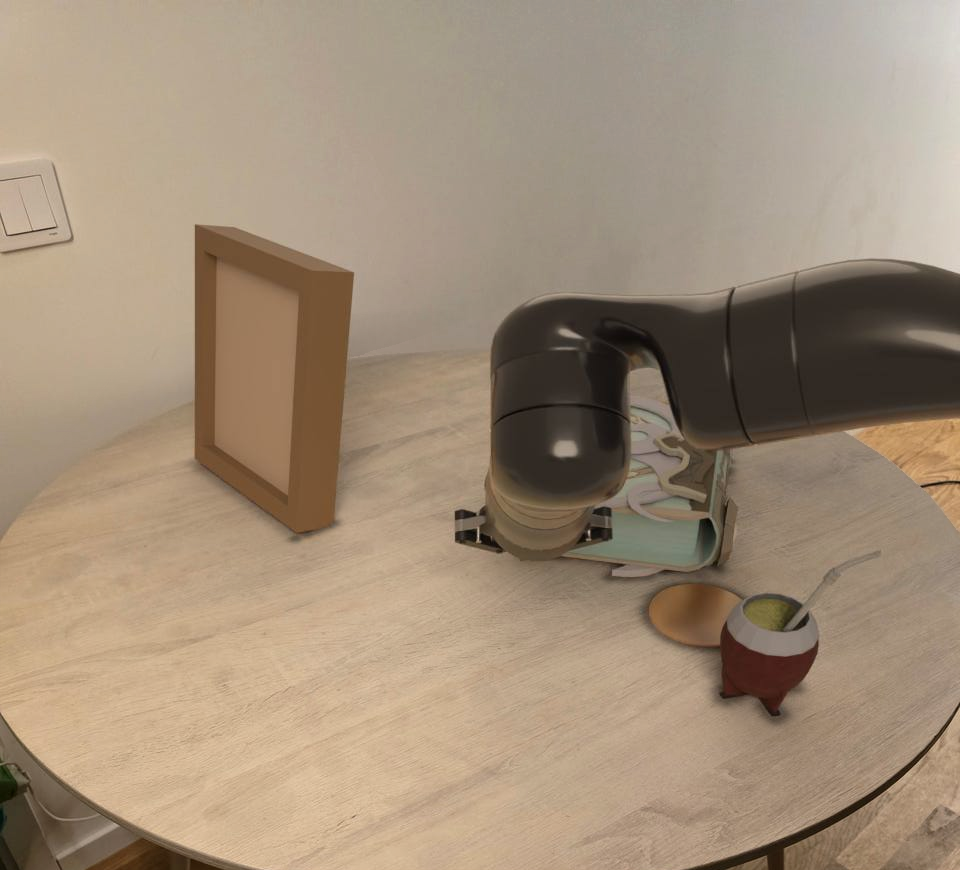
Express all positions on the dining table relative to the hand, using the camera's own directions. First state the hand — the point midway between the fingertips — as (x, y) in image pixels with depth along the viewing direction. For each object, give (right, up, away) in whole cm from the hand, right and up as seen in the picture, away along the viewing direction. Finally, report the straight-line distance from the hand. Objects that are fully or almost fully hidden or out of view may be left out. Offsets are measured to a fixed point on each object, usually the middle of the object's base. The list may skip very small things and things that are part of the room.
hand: (528, 549), depth 78 cm
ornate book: (+11, +6, +16) cm, 20 cm away
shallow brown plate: (+15, -6, 0) cm, 16 cm away
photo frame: (-24, +10, +22) cm, 34 cm away
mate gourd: (+18, -12, -8) cm, 23 cm away
